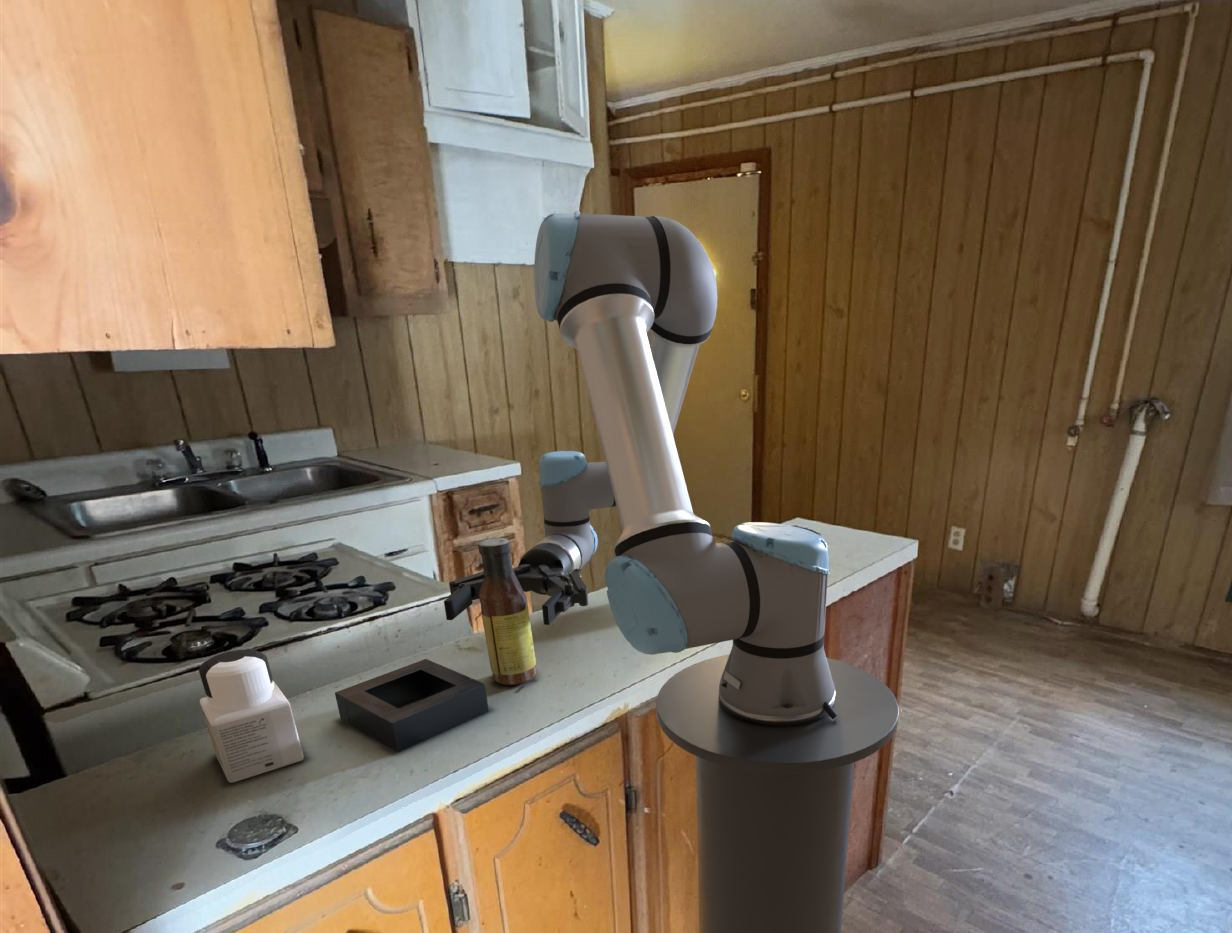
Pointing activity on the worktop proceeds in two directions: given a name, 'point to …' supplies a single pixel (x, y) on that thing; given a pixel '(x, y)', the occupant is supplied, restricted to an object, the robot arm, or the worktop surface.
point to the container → (247, 715)
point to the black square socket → (410, 725)
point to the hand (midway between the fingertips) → (496, 613)
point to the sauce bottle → (505, 616)
